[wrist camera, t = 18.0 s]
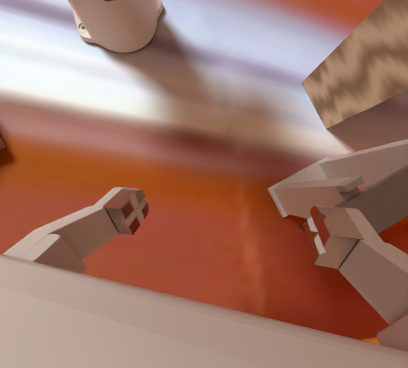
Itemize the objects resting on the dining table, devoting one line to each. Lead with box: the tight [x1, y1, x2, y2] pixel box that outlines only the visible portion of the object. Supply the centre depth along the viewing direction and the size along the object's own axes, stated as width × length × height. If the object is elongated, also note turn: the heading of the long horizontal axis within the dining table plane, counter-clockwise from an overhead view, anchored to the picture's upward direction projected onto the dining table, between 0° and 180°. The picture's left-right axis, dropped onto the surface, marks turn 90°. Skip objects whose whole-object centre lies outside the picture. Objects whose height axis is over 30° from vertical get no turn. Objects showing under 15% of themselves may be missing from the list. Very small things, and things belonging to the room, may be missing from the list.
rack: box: [267, 139, 408, 219], centre depth 28 cm, size 7×16×18 cm, turn 118°
